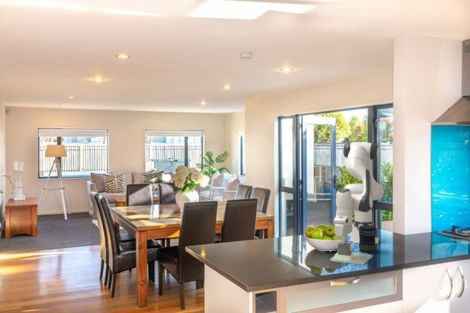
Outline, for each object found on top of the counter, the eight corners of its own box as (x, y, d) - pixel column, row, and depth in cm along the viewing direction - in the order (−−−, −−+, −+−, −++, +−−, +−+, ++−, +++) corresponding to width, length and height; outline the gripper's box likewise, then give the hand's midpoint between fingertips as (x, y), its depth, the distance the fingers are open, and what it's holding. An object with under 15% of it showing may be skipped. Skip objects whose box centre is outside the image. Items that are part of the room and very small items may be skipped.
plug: (340, 256, 247) (340, 242, 247) (351, 257, 244) (351, 243, 244) (338, 257, 244) (337, 243, 244) (349, 259, 240) (349, 244, 240)
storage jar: (376, 253, 258) (376, 228, 258) (359, 253, 260) (359, 227, 260) (375, 250, 268) (374, 225, 268) (358, 249, 270) (358, 225, 270)
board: (341, 253, 259) (341, 246, 259) (372, 257, 250) (372, 249, 250) (330, 260, 242) (330, 253, 242) (363, 264, 233) (363, 256, 233)
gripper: (344, 215, 254) (344, 239, 254) (332, 220, 237) (333, 245, 237) (354, 216, 251) (355, 240, 251) (344, 220, 233) (344, 246, 234)
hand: (344, 242), depth 244 cm, fingers closed
